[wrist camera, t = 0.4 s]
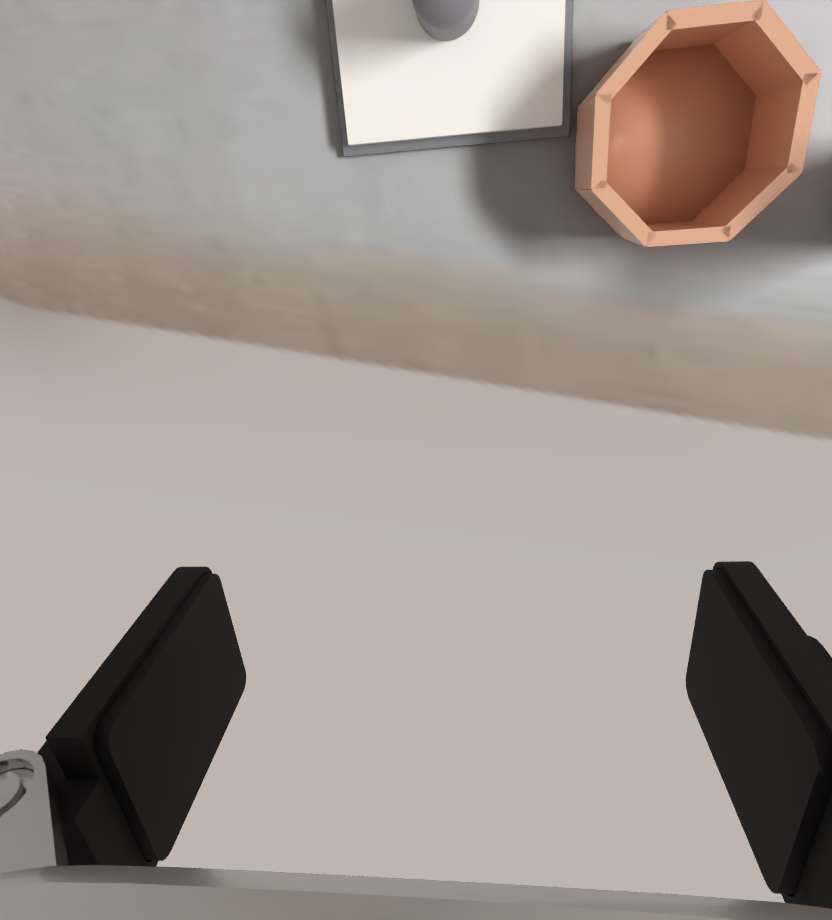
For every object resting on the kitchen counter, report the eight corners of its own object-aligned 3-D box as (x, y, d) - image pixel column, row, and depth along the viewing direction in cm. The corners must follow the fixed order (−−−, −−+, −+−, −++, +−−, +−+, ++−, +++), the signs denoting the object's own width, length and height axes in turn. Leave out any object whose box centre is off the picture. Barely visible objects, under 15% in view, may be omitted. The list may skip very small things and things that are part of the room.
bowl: (578, 45, 30) (599, 18, 25) (774, 23, 29) (836, -9, 24) (571, 241, 34) (587, 251, 29) (742, 228, 33) (790, 236, 28)
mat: (311, -137, 28) (309, -141, 27) (577, -178, 26) (579, -183, 26) (345, 156, 33) (343, 156, 33) (568, 135, 32) (569, 135, 31)
